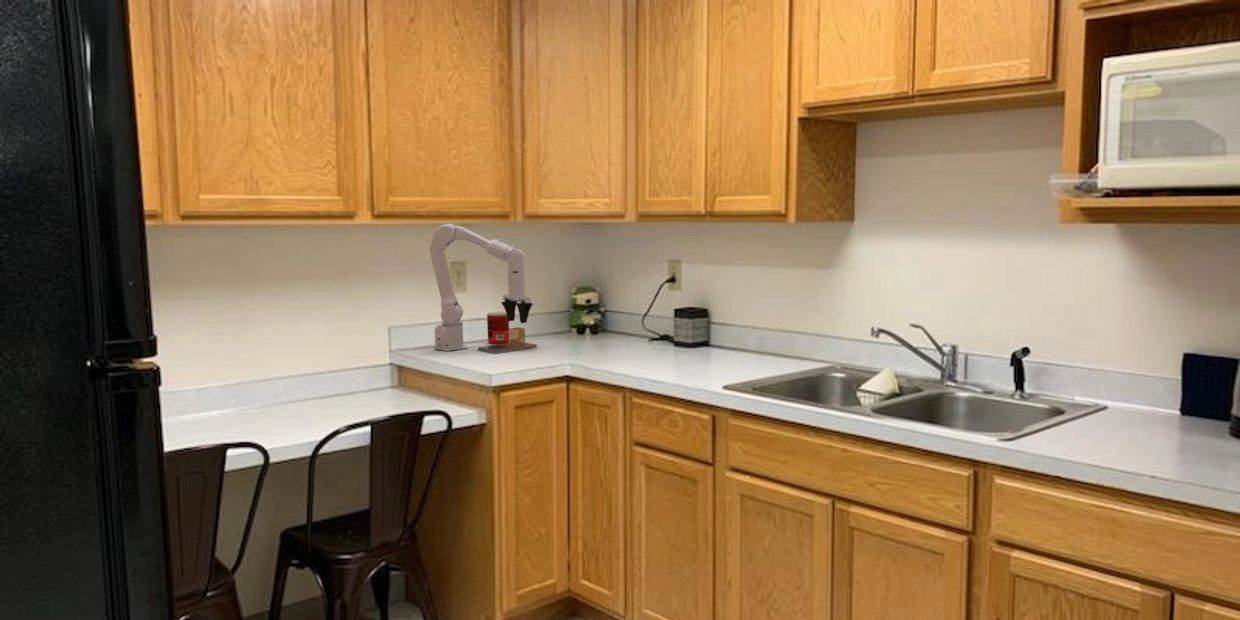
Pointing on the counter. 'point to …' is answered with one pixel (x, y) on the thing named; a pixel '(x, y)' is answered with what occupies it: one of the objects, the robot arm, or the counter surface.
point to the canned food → (498, 328)
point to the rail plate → (505, 348)
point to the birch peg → (517, 336)
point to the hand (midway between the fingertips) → (517, 321)
